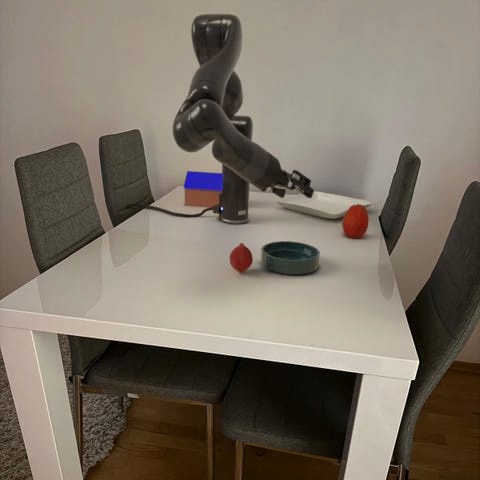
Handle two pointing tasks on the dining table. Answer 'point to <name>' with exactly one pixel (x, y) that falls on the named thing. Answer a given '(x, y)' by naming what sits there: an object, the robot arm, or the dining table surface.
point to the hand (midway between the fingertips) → (297, 194)
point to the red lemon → (241, 258)
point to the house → (202, 188)
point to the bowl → (290, 257)
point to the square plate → (321, 204)
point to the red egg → (355, 221)
